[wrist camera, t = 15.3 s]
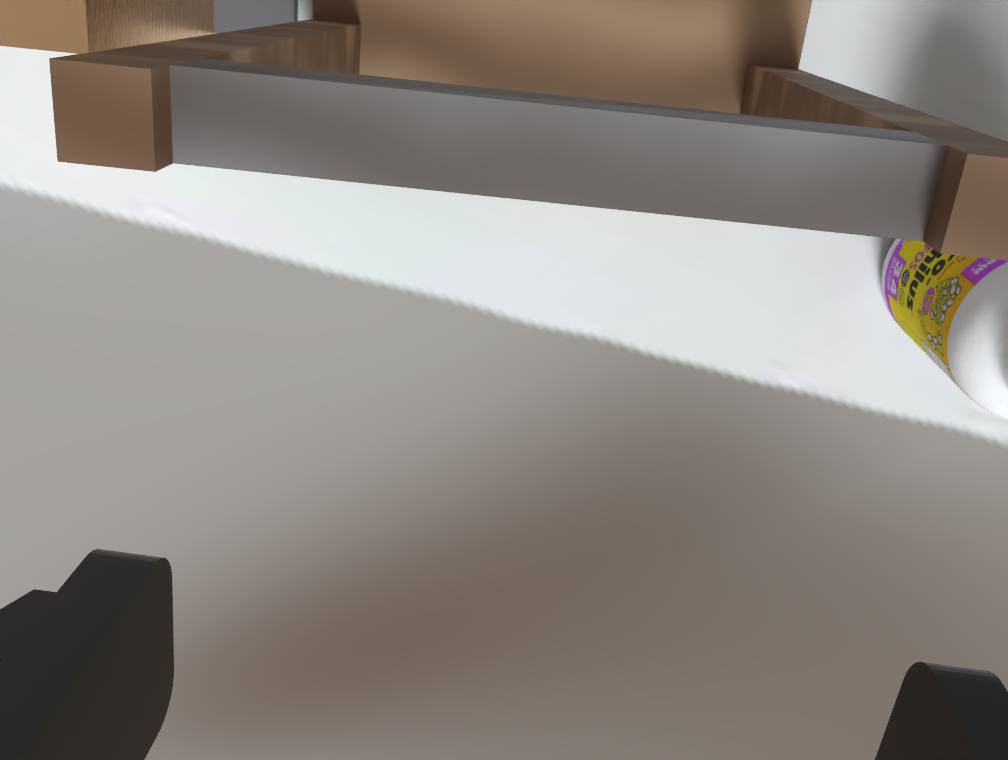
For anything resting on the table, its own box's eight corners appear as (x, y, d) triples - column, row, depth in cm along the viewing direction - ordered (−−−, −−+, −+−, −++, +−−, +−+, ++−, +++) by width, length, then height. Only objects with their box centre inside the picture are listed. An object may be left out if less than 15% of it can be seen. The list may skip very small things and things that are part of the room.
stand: (323, -86, 40) (30, -175, 17) (810, -37, 39) (1141, -61, 17) (317, 159, 43) (72, 344, 21) (762, 206, 43) (982, 441, 21)
